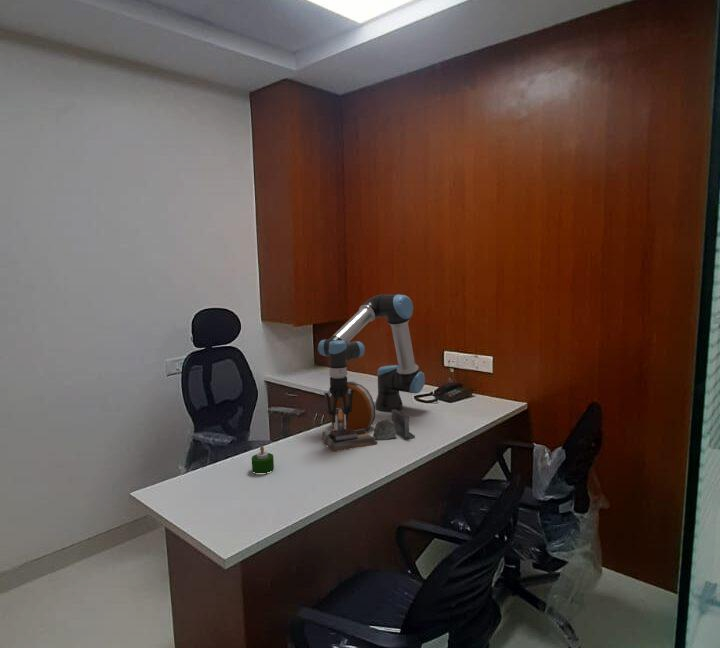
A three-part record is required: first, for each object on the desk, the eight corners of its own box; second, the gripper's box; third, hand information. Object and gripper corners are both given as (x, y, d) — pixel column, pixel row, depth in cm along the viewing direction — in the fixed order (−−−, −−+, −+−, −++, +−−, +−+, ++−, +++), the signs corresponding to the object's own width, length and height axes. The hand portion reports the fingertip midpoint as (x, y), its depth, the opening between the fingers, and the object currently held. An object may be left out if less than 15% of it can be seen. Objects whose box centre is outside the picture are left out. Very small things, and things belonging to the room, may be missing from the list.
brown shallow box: (322, 440, 219) (321, 431, 218) (365, 434, 226) (365, 425, 225) (331, 451, 206) (331, 442, 205) (377, 444, 213) (377, 434, 212)
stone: (385, 418, 215) (388, 411, 225) (368, 432, 218) (372, 424, 228) (399, 435, 215) (401, 427, 225) (382, 448, 218) (385, 439, 227)
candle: (263, 476, 183) (262, 451, 182) (247, 472, 187) (246, 447, 186) (278, 468, 190) (277, 444, 189) (262, 464, 194) (261, 440, 193)
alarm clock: (377, 426, 236) (376, 381, 233) (369, 433, 227) (368, 385, 225) (337, 421, 245) (336, 377, 243) (328, 427, 237) (326, 382, 234)
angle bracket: (392, 430, 231) (391, 409, 229) (401, 428, 232) (401, 408, 231) (405, 439, 218) (404, 418, 216) (415, 437, 219) (414, 416, 218)
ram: (330, 438, 217) (329, 407, 215) (351, 435, 220) (350, 404, 219) (335, 445, 209) (334, 412, 207) (357, 441, 212) (356, 409, 211)
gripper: (322, 380, 204) (324, 434, 207) (359, 376, 210) (360, 428, 213) (317, 376, 211) (319, 428, 214) (353, 372, 217) (354, 423, 220)
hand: (340, 428), depth 213 cm, fingers closed on ram, 3 cm apart
